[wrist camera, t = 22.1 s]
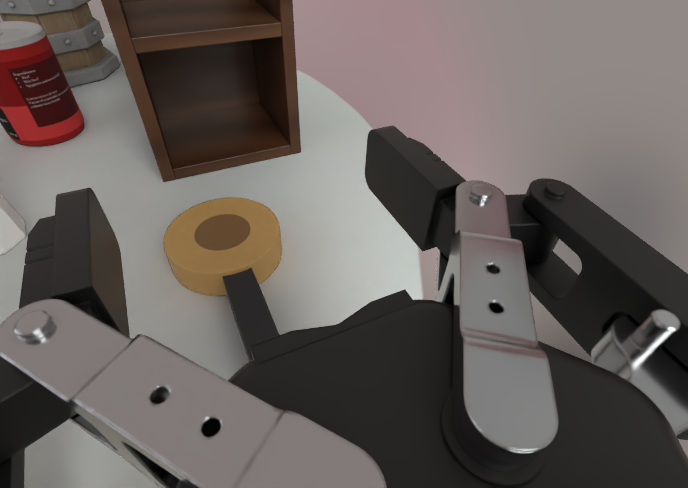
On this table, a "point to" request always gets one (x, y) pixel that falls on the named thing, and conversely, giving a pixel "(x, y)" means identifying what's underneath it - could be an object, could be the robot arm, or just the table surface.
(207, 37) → the wooden cabinet
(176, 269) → the disc with black handle
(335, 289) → the table surface
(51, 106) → the canned food
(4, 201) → the salt shaker
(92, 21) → the tankard
